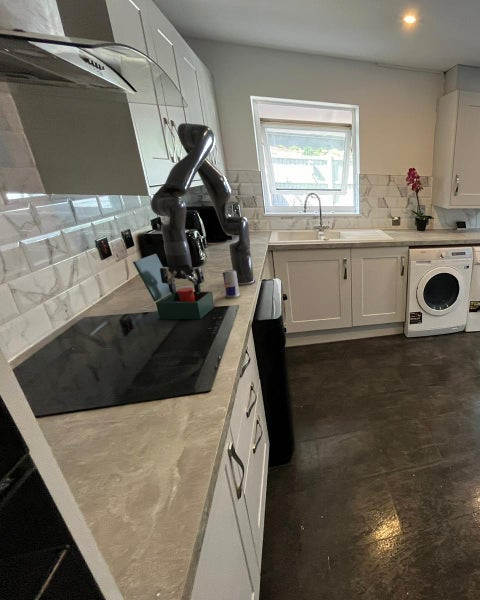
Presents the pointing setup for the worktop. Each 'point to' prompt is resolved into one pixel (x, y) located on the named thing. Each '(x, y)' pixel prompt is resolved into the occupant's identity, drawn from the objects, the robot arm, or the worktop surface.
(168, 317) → the box
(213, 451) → the worktop surface
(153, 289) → the lid
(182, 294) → the tin
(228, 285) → the energy drink
